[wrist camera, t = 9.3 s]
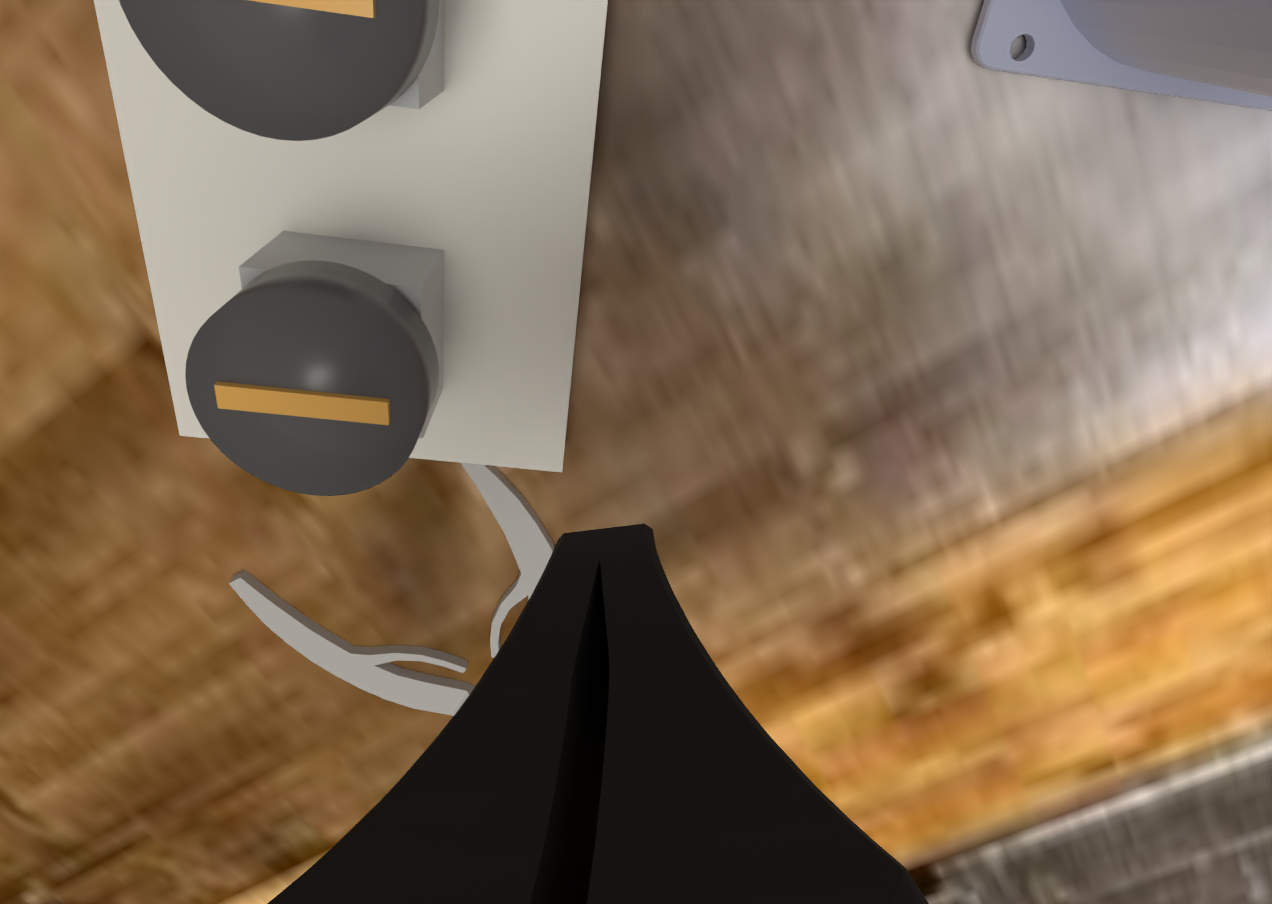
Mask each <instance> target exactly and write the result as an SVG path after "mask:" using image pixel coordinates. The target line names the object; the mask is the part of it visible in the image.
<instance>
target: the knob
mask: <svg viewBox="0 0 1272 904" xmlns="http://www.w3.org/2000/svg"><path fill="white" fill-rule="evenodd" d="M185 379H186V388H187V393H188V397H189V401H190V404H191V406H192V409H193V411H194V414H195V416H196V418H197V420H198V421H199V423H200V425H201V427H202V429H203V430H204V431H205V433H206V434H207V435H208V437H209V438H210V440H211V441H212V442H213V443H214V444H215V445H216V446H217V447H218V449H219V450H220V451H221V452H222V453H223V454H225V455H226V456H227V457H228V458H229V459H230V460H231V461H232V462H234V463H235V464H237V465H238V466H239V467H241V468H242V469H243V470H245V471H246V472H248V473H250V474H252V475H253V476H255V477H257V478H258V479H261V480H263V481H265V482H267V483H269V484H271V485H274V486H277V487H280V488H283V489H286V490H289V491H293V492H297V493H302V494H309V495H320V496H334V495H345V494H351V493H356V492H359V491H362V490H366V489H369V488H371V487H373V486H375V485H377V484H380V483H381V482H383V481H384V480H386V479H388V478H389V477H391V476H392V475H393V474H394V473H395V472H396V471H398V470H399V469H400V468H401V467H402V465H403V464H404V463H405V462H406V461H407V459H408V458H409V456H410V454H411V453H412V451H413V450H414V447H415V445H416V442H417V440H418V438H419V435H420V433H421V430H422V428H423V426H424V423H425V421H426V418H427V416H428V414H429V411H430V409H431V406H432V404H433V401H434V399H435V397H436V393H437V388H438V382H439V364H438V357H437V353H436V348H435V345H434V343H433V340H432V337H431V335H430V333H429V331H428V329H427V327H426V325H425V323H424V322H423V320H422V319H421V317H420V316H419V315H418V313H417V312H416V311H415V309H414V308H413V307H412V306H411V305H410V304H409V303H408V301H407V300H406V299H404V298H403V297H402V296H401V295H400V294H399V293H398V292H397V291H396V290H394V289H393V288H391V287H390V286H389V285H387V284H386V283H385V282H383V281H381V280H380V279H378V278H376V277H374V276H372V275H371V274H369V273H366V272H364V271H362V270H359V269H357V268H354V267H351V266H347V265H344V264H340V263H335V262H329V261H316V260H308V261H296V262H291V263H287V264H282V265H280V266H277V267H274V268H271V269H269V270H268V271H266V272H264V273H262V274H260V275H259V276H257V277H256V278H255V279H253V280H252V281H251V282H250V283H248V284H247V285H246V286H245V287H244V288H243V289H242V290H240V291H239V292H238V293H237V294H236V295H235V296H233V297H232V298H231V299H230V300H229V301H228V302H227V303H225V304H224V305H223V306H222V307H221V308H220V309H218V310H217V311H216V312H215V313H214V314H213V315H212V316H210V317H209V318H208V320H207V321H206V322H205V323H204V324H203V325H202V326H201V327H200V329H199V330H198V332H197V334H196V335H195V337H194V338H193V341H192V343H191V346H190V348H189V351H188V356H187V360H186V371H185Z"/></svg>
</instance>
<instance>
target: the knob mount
mask: <svg viewBox="0 0 1272 904" xmlns="http://www.w3.org/2000/svg"><path fill="white" fill-rule="evenodd" d="M94 4H95V9H96V14H97V19H98V24H99V29H100V34H101V39H102V44H103V49H104V54H105V59H106V64H107V69H108V75H109V80H110V85H111V90H112V95H113V100H114V105H115V110H116V115H117V120H118V125H119V130H120V135H121V140H122V145H123V151H124V156H125V161H126V166H127V171H128V176H129V181H130V186H131V191H132V196H133V201H134V206H135V211H136V216H137V221H138V227H139V232H140V237H141V242H142V247H143V252H144V257H145V262H146V267H147V272H148V277H149V282H150V287H151V292H152V297H153V302H154V308H155V313H156V318H157V323H158V328H159V333H160V338H161V343H162V348H163V353H164V358H165V363H166V368H167V373H168V378H169V384H170V389H171V394H172V399H173V404H174V409H175V414H176V419H177V424H178V429H179V434H180V436H190V437H200V438H209V437H208V435H207V434H206V433H205V431H204V430H203V429H202V427H201V425H200V423H199V421H198V420H197V418H196V416H195V414H194V411H193V409H192V406H191V404H190V401H189V397H188V393H187V388H186V379H185V371H186V360H187V356H188V351H189V348H190V346H191V343H192V341H193V338H194V337H195V335H196V334H197V332H198V330H199V329H200V327H201V326H202V325H203V324H204V323H205V322H206V321H207V320H208V318H209V317H210V316H212V315H213V314H214V313H215V312H216V311H217V310H218V309H220V308H221V307H222V306H223V305H224V304H225V303H227V302H228V301H229V300H230V299H231V298H232V297H233V296H235V295H236V294H237V293H238V292H239V291H240V290H242V289H243V288H244V287H245V286H246V285H247V284H248V283H250V282H251V281H252V280H253V279H255V278H256V277H257V276H259V275H260V274H262V273H264V272H266V271H268V270H269V269H271V268H274V267H277V266H280V265H282V264H287V263H291V262H296V261H308V260H316V261H329V262H335V263H340V264H344V265H347V266H351V267H354V268H357V269H359V270H362V271H364V272H366V273H369V274H371V275H372V276H374V277H376V278H378V279H380V280H381V281H383V282H385V283H386V284H387V285H389V286H390V287H391V288H393V289H394V290H396V291H397V292H398V293H399V294H400V295H401V296H402V297H403V298H404V299H406V300H407V301H408V303H409V304H410V305H411V306H412V307H413V308H414V309H415V311H416V312H417V313H418V315H419V316H420V317H421V319H422V320H423V322H424V323H425V325H426V327H427V329H428V331H429V333H430V335H431V337H432V340H433V343H434V345H435V348H436V353H437V357H438V364H439V382H438V388H437V393H436V397H435V399H434V401H433V404H432V406H431V409H430V411H429V414H428V416H427V418H426V421H425V423H424V426H423V428H422V430H421V433H420V435H419V438H418V440H417V442H416V445H415V447H414V450H413V451H412V453H411V454H410V456H409V458H418V459H429V460H439V461H449V462H460V463H470V464H480V465H491V466H501V467H512V468H522V469H532V470H543V471H553V472H562V468H563V458H564V449H565V439H566V429H567V418H568V408H569V398H570V387H571V377H572V367H573V356H574V346H575V336H576V326H577V315H578V305H579V295H580V284H581V274H582V264H583V253H584V243H585V233H586V222H587V212H588V202H589V192H590V181H591V171H592V161H593V150H594V140H595V130H596V119H597V109H598V99H599V89H600V78H601V68H602V58H603V47H604V37H605V27H606V16H607V6H608V0H439V15H438V23H437V29H436V34H435V38H434V42H433V45H432V48H431V51H430V54H429V56H428V58H427V60H426V62H425V65H424V67H423V69H422V70H421V72H420V73H419V75H418V76H417V78H416V79H415V81H414V82H413V84H412V85H411V86H410V87H409V88H408V89H407V90H406V91H405V92H404V93H403V95H401V96H400V97H399V98H398V99H396V100H395V101H394V102H393V103H391V104H390V105H389V106H387V107H385V108H384V109H382V110H380V111H379V112H377V113H376V114H374V115H372V116H371V117H369V118H368V119H366V120H364V121H363V122H361V123H359V124H358V125H356V126H354V127H352V128H351V129H349V130H347V131H344V132H341V133H339V134H336V135H334V136H330V137H326V138H321V139H317V140H305V141H289V140H278V139H272V138H267V137H262V136H259V135H256V134H253V133H249V132H246V131H243V130H241V129H239V128H237V127H234V126H232V125H230V124H228V123H226V122H224V121H222V120H220V119H219V118H217V117H215V116H214V115H212V114H210V113H209V112H207V111H205V110H204V109H203V108H201V107H200V106H199V105H197V104H196V103H195V102H193V101H192V100H191V99H189V98H188V97H187V96H186V95H185V94H184V93H183V92H182V91H180V90H179V89H178V88H177V87H176V86H175V85H174V84H173V83H172V82H171V81H170V80H169V79H168V78H167V77H166V76H165V74H164V73H163V72H162V71H161V70H160V69H159V68H158V67H157V65H156V64H155V63H154V61H153V60H152V59H151V57H150V56H149V55H148V53H147V52H146V51H145V49H144V48H143V46H142V45H141V43H140V41H139V40H138V38H137V36H136V35H135V33H134V31H133V30H132V28H131V26H130V24H129V22H128V20H127V18H126V16H125V13H124V11H123V9H122V7H121V5H120V2H119V0H94Z"/></svg>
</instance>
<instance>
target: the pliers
mask: <svg viewBox="0 0 1272 904" xmlns="http://www.w3.org/2000/svg"><path fill="white" fill-rule="evenodd" d="M461 464H462V466H463V467H464V469H465V470H466V472H467V473H468V475H469V476H470V478H471V479H472V481H473V482H474V484H475V485H476V486H477V488H478V490H479V491H480V493H481V495H482V496H483V498H484V500H485V501H486V503H487V505H488V506H489V508H490V510H491V511H492V513H493V515H494V516H495V518H496V520H497V521H498V523H499V525H500V527H501V528H502V530H503V532H504V534H505V536H506V538H507V540H508V543H509V545H510V547H511V549H512V552H513V554H514V556H515V559H516V561H517V564H518V566H519V569H520V573H519V576H518V578H517V580H516V581H515V582H514V583H513V584H512V586H511V587H510V588H509V589H508V590H507V591H506V593H505V594H504V595H503V596H502V597H501V600H500V602H499V604H498V606H497V608H496V610H495V613H494V615H493V619H492V626H491V637H490V645H491V657H495V656H496V654H497V653H498V651H499V650H500V627H501V624H502V622H503V620H504V618H505V617H506V615H507V613H508V611H509V610H510V608H512V607H513V606H514V605H516V604H517V603H518V602H520V601H521V600H522V599H524V598H525V597H526V596H527V595H528V597H529V599H530V597H531V595H532V593H533V591H534V589H535V587H536V585H537V583H538V582H539V580H540V578H541V576H542V574H543V572H544V570H545V567H546V565H547V563H548V561H549V559H550V557H551V555H552V552H553V550H554V548H555V547H554V545H553V543H552V540H551V539H550V537H549V535H548V534H547V532H546V530H545V528H544V527H543V525H542V523H541V522H540V520H539V518H538V517H537V515H536V514H535V513H534V511H533V510H532V508H531V507H530V506H529V504H528V503H527V502H526V500H525V499H524V498H523V496H522V495H521V494H520V492H519V491H518V490H517V489H516V488H515V487H514V486H513V485H512V484H511V483H510V482H509V481H508V480H507V479H506V478H505V477H504V476H503V475H502V474H501V472H500V471H498V470H497V469H496V468H495V467H494V466H491V465H480V464H470V463H461ZM229 584H230V585H231V587H232V588H233V589H234V590H235V591H236V593H237V594H238V595H239V596H240V597H241V599H242V600H243V601H244V602H245V603H246V604H247V606H248V607H249V608H250V609H251V610H252V611H253V612H254V613H255V614H256V615H257V616H258V617H259V618H260V619H261V620H262V621H263V623H264V624H265V625H266V626H267V627H269V628H270V629H271V630H272V631H273V632H275V633H276V634H277V635H278V636H279V637H280V638H282V639H283V640H284V641H285V642H286V643H287V644H289V645H290V646H291V647H293V648H294V649H295V650H297V651H298V652H300V653H301V654H302V655H304V656H305V657H306V658H308V659H309V660H310V661H312V662H314V663H315V664H317V665H319V666H320V667H322V668H324V669H325V670H327V671H329V672H330V673H332V674H334V675H335V676H337V677H339V678H341V679H343V680H345V681H347V682H349V683H351V684H352V685H354V686H356V687H358V688H360V689H363V690H365V691H367V692H369V693H372V694H374V695H376V696H379V697H381V698H383V699H386V700H389V701H392V702H395V703H398V704H401V705H404V706H407V707H410V708H413V709H419V710H425V711H431V712H436V713H442V714H448V715H452V716H454V715H455V714H456V712H457V711H458V710H459V708H460V707H461V706H462V704H463V703H464V702H465V700H466V699H467V697H468V696H469V695H470V693H471V692H472V690H473V689H474V688H475V686H473V685H472V684H470V683H467V682H463V681H458V680H453V679H448V678H443V677H439V676H434V675H429V674H425V673H421V672H417V671H413V670H409V669H405V668H400V667H398V666H396V665H393V664H391V663H388V662H392V661H396V660H404V661H423V662H427V663H431V664H436V665H440V666H444V667H447V668H450V669H453V670H456V671H459V672H462V673H463V672H464V671H465V670H466V668H467V663H468V660H465V659H463V658H460V657H457V656H454V655H451V654H449V653H445V652H442V651H438V650H434V649H430V648H426V647H418V646H406V645H390V646H379V647H364V646H353V645H352V644H350V643H348V642H347V641H345V640H343V639H341V638H340V637H338V636H336V635H335V634H333V633H331V632H330V631H328V630H326V629H325V628H323V627H321V626H320V625H318V624H317V623H315V622H313V621H312V620H310V619H309V618H307V617H306V616H305V615H303V614H302V613H301V612H299V611H298V610H296V609H295V608H294V607H292V606H291V605H290V604H288V603H287V602H285V601H284V600H283V599H281V598H280V597H279V596H277V595H276V594H275V593H273V592H272V591H271V590H269V589H268V588H267V587H265V586H264V585H263V584H262V583H260V582H259V581H258V580H257V579H255V578H254V577H253V576H252V575H250V574H249V573H248V572H247V571H245V570H244V571H242V572H240V573H238V574H236V575H234V576H233V578H232V579H231V581H230V582H229Z"/></svg>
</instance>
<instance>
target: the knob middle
mask: <svg viewBox="0 0 1272 904" xmlns="http://www.w3.org/2000/svg"><path fill="white" fill-rule="evenodd" d="M119 2H120V5H121V7H122V9H123V11H124V13H125V16H126V18H127V20H128V22H129V24H130V26H131V28H132V30H133V31H134V33H135V35H136V36H137V38H138V40H139V41H140V43H141V45H142V46H143V48H144V49H145V51H146V52H147V53H148V55H149V56H150V57H151V59H152V60H153V61H154V63H155V64H156V65H157V67H158V68H159V69H160V70H161V71H162V72H163V73H164V74H165V76H166V77H167V78H168V79H169V80H170V81H171V82H172V83H173V84H174V85H175V86H176V87H177V88H178V89H179V90H180V91H182V92H183V93H184V94H185V95H186V96H187V97H188V98H189V99H191V100H192V101H193V102H195V103H196V104H197V105H199V106H200V107H201V108H203V109H204V110H205V111H207V112H209V113H210V114H212V115H214V116H215V117H217V118H219V119H220V120H222V121H224V122H226V123H228V124H230V125H232V126H234V127H237V128H239V129H241V130H243V131H246V132H249V133H253V134H256V135H259V136H262V137H267V138H272V139H278V140H289V141H305V140H317V139H321V138H326V137H330V136H334V135H336V134H339V133H341V132H344V131H347V130H349V129H351V128H352V127H354V126H356V125H358V124H359V123H361V122H363V121H364V120H366V119H368V118H369V117H371V116H372V115H374V114H376V113H377V112H379V111H380V110H382V109H384V108H385V107H387V106H389V105H390V104H391V103H393V102H394V101H395V100H396V99H398V98H399V97H400V96H401V95H403V93H404V92H405V91H406V90H407V89H408V88H409V87H410V86H411V85H412V84H413V82H414V81H415V79H416V78H417V76H418V75H419V73H420V72H421V70H422V69H423V67H424V65H425V62H426V60H427V58H428V56H429V54H430V51H431V48H432V45H433V42H434V38H435V34H436V29H437V23H438V15H439V0H119Z"/></svg>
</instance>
